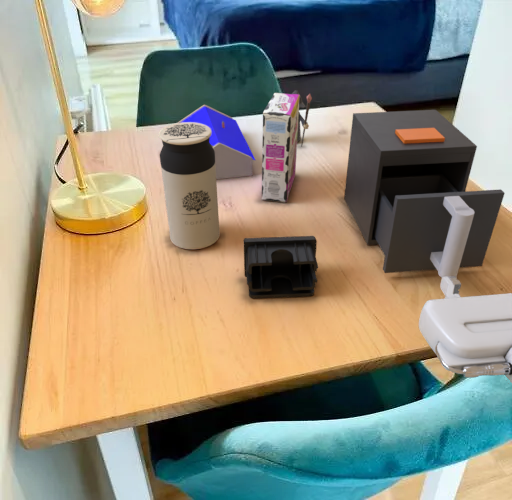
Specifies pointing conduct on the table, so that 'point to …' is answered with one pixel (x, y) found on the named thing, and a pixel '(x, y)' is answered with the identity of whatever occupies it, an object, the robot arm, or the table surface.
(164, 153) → the travel mug
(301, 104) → the wizard figurine
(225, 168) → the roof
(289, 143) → the candy bar box
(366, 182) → the fryer housing
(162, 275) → the table surface
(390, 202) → the basket
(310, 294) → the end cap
